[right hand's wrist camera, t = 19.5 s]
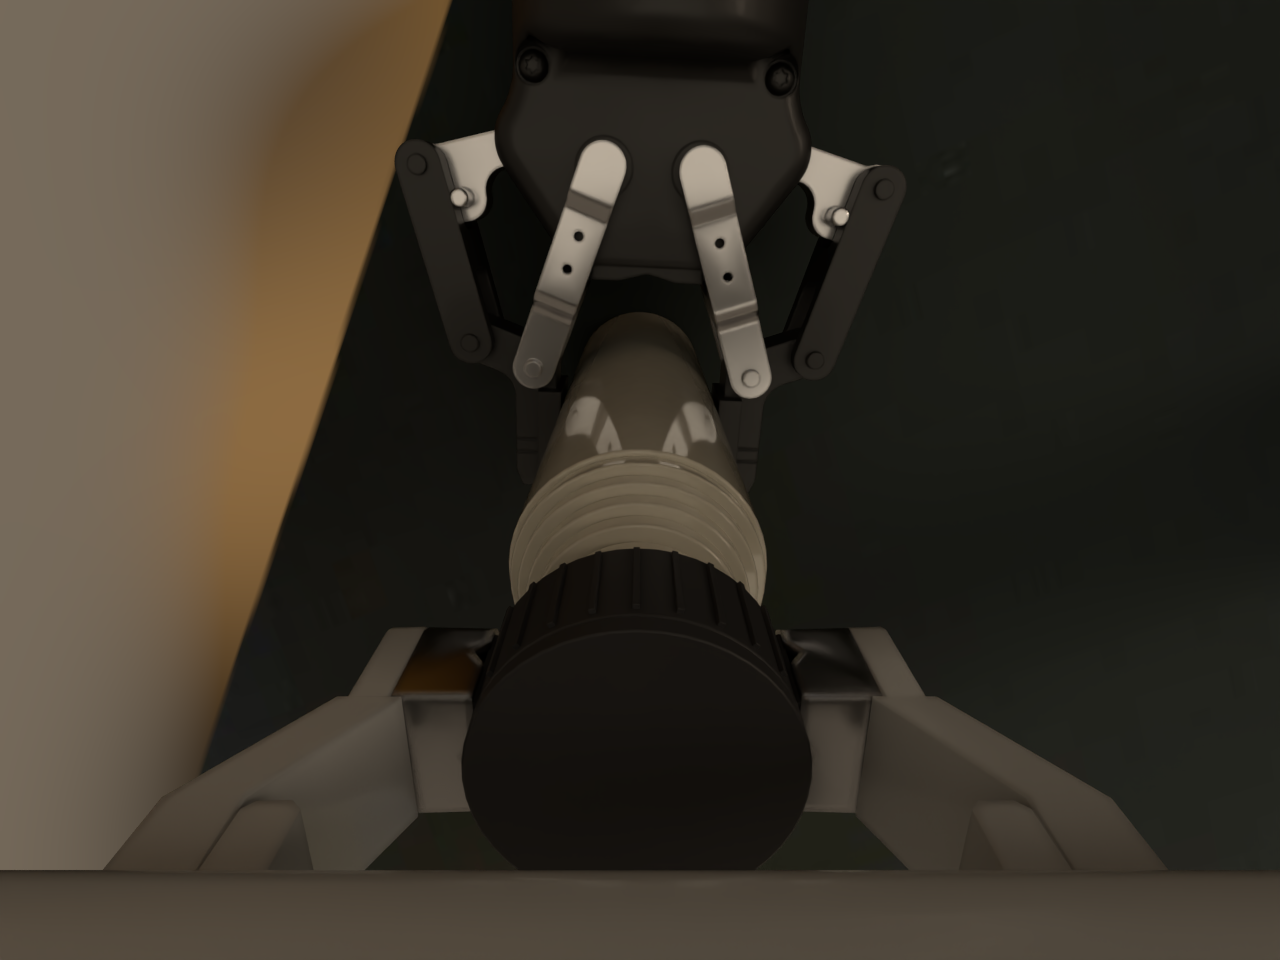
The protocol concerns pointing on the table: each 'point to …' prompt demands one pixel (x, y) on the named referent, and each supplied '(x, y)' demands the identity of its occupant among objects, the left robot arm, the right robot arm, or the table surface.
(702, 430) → the bottle
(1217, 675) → the table surface
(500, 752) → the cap
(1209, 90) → the table surface
